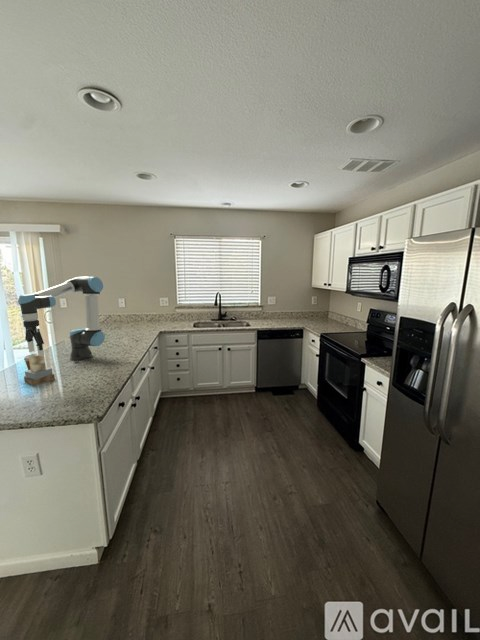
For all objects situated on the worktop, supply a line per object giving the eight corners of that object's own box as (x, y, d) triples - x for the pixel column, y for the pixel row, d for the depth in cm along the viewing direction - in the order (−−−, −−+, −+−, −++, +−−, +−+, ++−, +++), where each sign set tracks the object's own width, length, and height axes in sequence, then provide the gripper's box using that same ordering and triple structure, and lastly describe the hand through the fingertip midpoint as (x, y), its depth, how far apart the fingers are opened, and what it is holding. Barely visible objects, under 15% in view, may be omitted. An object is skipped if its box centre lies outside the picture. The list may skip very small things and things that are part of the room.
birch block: (41, 367, 168) (39, 352, 166) (45, 369, 165) (43, 354, 163) (30, 370, 163) (28, 355, 161) (34, 372, 160) (32, 356, 158)
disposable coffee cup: (29, 371, 181) (26, 354, 179) (45, 369, 185) (43, 353, 182) (23, 376, 173) (20, 359, 170) (41, 374, 176) (38, 357, 174)
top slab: (43, 371, 171) (42, 366, 170) (52, 374, 167) (51, 368, 166) (25, 377, 162) (24, 371, 161) (35, 379, 158) (34, 373, 157)
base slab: (46, 376, 174) (45, 370, 173) (55, 380, 168) (54, 374, 167) (24, 382, 164) (23, 376, 163) (32, 387, 158) (31, 380, 157)
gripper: (15, 319, 162) (21, 351, 166) (32, 323, 148) (38, 358, 152) (29, 317, 168) (35, 348, 172) (47, 321, 155) (52, 355, 159)
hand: (36, 353), depth 162 cm, fingers open, 13 cm apart
